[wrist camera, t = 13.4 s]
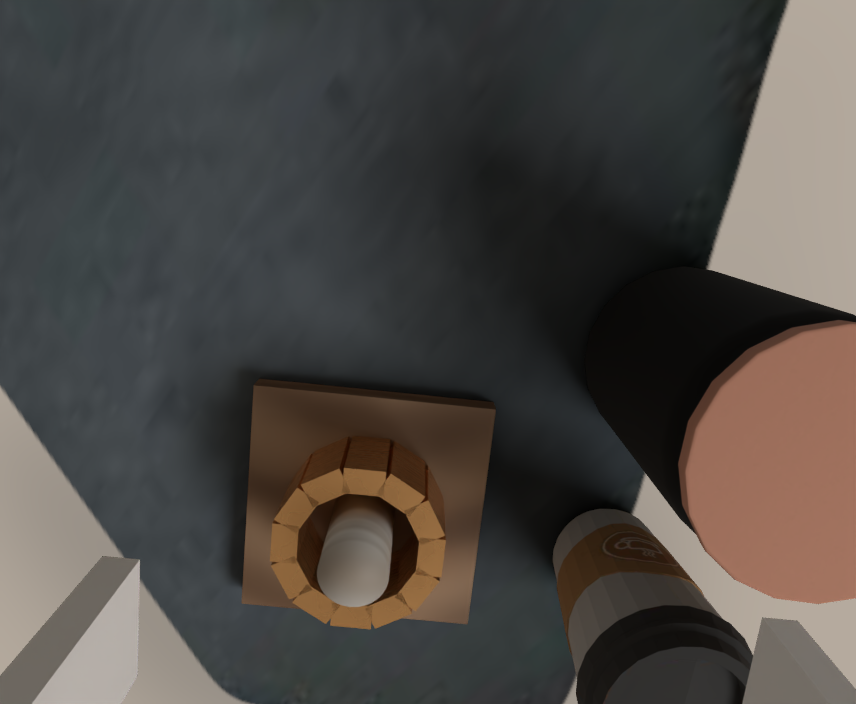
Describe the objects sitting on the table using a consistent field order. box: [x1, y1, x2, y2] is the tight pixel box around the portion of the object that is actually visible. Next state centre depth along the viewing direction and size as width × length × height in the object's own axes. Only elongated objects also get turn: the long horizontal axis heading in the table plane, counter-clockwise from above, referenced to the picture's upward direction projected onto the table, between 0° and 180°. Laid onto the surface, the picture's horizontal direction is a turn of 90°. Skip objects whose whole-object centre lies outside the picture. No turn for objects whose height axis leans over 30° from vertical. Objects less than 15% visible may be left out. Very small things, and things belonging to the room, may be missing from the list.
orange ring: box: [270, 435, 446, 629], centre depth 42 cm, size 9×9×5 cm
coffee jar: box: [584, 266, 856, 604], centre depth 35 cm, size 11×11×18 cm
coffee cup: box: [553, 509, 753, 704], centre depth 39 cm, size 8×8×15 cm
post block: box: [242, 379, 496, 624], centre depth 41 cm, size 14×14×9 cm
